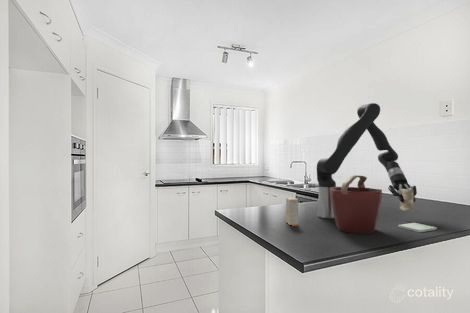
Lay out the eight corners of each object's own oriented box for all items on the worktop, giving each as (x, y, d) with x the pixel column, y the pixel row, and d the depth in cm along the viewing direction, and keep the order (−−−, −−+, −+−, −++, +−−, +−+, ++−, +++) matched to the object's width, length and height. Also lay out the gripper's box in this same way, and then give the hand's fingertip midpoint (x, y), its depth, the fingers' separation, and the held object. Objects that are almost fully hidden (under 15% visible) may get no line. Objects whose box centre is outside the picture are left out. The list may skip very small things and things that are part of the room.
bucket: (353, 221, 136) (352, 173, 137) (396, 231, 117) (395, 176, 117) (320, 227, 124) (319, 175, 125) (362, 239, 105) (361, 177, 105)
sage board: (419, 232, 115) (419, 230, 115) (398, 227, 124) (398, 225, 124) (436, 229, 119) (436, 227, 119) (414, 224, 129) (414, 222, 129)
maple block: (404, 210, 135) (404, 189, 135) (399, 209, 140) (399, 188, 140) (413, 211, 135) (413, 189, 135) (408, 209, 139) (408, 189, 139)
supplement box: (298, 226, 127) (298, 199, 127) (289, 226, 127) (288, 199, 127) (295, 222, 135) (295, 197, 135) (286, 222, 135) (285, 197, 135)
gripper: (385, 172, 146) (396, 197, 134) (413, 173, 144) (426, 197, 132) (381, 181, 151) (391, 205, 139) (408, 181, 149) (420, 206, 137)
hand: (408, 201), depth 135 cm, fingers closed on maple block, 4 cm apart
